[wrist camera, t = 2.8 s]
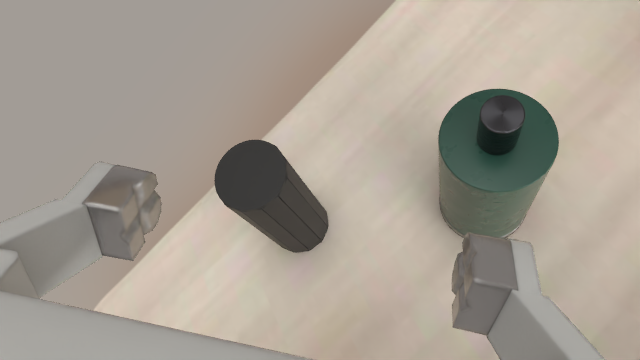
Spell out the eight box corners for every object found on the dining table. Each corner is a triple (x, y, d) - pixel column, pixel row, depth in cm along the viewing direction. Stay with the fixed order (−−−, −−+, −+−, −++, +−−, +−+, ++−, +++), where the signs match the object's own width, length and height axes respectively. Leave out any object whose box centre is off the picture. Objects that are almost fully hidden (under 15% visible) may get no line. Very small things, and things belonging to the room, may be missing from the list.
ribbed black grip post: (307, 186, 50) (260, 125, 37) (338, 228, 48) (300, 178, 35) (263, 220, 50) (201, 170, 37) (293, 263, 48) (238, 225, 35)
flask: (485, 148, 47) (506, 37, 31) (545, 207, 44) (603, 117, 28) (422, 197, 47) (411, 110, 31) (478, 259, 44) (497, 199, 28)
